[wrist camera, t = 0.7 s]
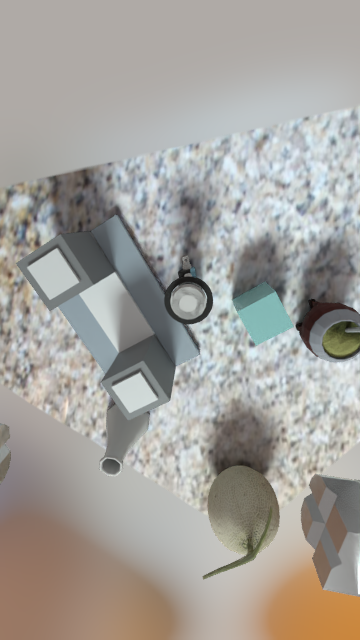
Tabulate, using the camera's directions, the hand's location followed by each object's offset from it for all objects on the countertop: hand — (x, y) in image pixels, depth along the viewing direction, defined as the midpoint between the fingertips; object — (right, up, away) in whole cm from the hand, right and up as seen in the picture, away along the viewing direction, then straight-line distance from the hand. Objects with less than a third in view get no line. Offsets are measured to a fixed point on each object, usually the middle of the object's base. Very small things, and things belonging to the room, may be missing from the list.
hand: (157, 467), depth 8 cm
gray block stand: (-8, +5, +36) cm, 37 cm away
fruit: (+11, -22, +44) cm, 50 cm away
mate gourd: (+20, +5, +34) cm, 40 cm away
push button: (+2, +10, +34) cm, 35 cm away
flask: (-8, -12, +42) cm, 44 cm away
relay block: (+11, +4, +28) cm, 31 cm away
